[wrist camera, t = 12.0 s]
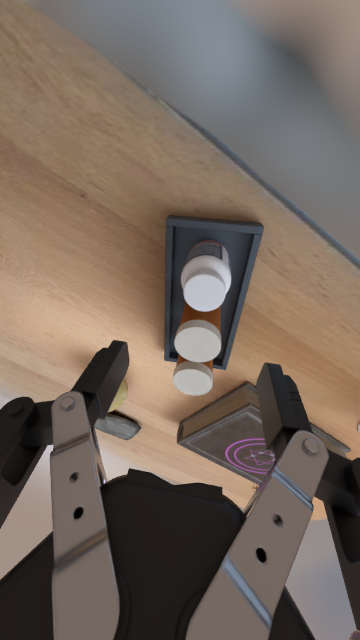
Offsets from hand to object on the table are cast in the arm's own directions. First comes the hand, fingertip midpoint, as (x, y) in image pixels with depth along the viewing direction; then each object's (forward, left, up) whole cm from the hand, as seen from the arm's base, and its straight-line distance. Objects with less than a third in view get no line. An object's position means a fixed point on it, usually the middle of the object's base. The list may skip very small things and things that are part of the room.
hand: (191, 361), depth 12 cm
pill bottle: (0, 0, -18) cm, 18 cm away
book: (+40, +17, -18) cm, 47 cm away
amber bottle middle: (+7, 0, -18) cm, 19 cm away
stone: (+46, -18, -18) cm, 52 cm away
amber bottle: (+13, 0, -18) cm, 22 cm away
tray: (+7, 0, -18) cm, 19 cm away
